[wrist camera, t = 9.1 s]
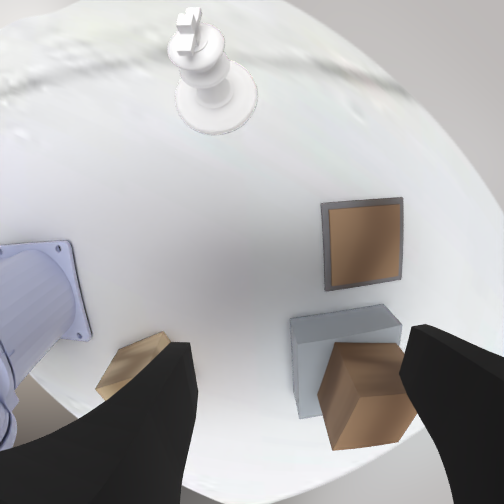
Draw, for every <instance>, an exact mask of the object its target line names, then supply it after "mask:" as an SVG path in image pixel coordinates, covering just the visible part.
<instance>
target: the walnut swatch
mask: <svg viewBox="0 0 504 504" xmlns="http://www.w3.org/2000/svg"><path fill="white" fill-rule="evenodd" d="M321 212H322V228H323V247H324V274H325V291H333V290H339V289H346V288H353V287H359V286H365V285H371V284H377V283H383V282H389V281H395V280H401V277H402V260H403V198H402V197H400V198H383V199H369V200H355V201H342V202H330V203H321Z"/></svg>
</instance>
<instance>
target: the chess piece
mask: <svg viewBox="0 0 504 504" xmlns="http://www.w3.org/2000/svg"><path fill="white" fill-rule="evenodd" d="M201 16H202V12H201V8H186V12H185V14H179V15H178V19H177V23H176V27H177V28H178V30H177V31H176V32H175V33H174V34H173V36H172V37H171V39H170V41H169V43H168V48H167V51H168V56H169V58H170V60H171V61H172V63H173V64H175V65H176V66H177V67H179V71H180V76H181V78H180V80H179V82H178V84H177V87H176V91H175V104H176V108H177V111H178V113H179V115H180V117H181V119H182V120H183V121H184V122H185V123H186V124H187V125H188V126H189V127H190V128H192V129H193V130H195V131H197V132H200V133H203V134H208V135H220V134H226V133H229V132H232V131H234V130H236V129H238V128H239V127H241V126H242V125H243V124H245V123H246V122H247V121H248V119H249V118H250V117H251V116H252V114H253V112H254V110H255V108H256V105H257V99H258V92H257V86H256V83H255V81H254V79H253V77H252V75H251V74H250V72H249V71H248V70H247V69H246V68H245V67H243V66H242V65H241V64H239V63H237V62H235V61H232V60H229V58H228V56H227V54H226V53H225V52H224V48H225V39H224V36H223V34H222V32H221V31H220V30H219V29H218V28H217V27H215V26H213V25H211V24H208V23H202V22H200V20H201Z"/></svg>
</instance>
